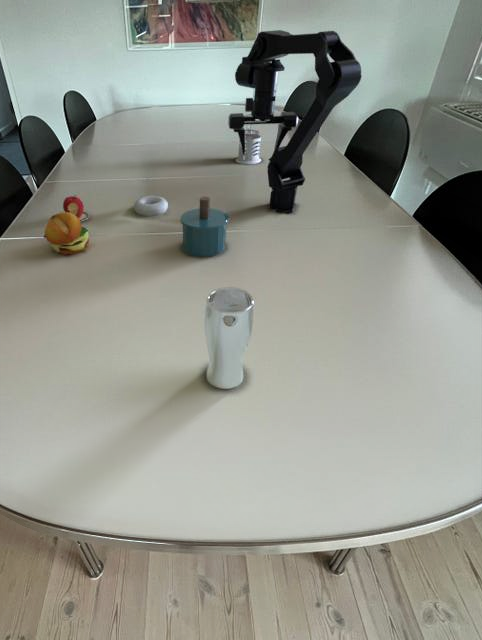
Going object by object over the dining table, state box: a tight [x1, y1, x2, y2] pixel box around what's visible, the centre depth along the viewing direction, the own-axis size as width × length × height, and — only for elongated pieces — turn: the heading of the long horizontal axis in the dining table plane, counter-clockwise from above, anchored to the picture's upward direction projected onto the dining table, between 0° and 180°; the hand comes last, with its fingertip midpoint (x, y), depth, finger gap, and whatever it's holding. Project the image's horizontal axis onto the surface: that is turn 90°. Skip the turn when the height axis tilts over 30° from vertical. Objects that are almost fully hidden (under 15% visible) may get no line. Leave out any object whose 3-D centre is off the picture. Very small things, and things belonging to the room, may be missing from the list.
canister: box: [181, 223, 227, 258], centre depth 99 cm, size 10×10×7 cm
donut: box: [133, 195, 169, 217], centre depth 119 cm, size 10×4×10 cm
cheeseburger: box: [43, 211, 90, 255], centre depth 101 cm, size 10×11×10 cm
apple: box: [62, 194, 91, 223], centre depth 115 cm, size 8×8×6 cm
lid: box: [180, 196, 229, 230], centre depth 96 cm, size 11×11×6 cm
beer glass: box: [204, 286, 255, 390], centre depth 62 cm, size 7×7×15 cm
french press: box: [235, 92, 262, 165], centre depth 146 cm, size 10×12×25 cm
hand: (259, 153), depth 119 cm, fingers open, 9 cm apart
